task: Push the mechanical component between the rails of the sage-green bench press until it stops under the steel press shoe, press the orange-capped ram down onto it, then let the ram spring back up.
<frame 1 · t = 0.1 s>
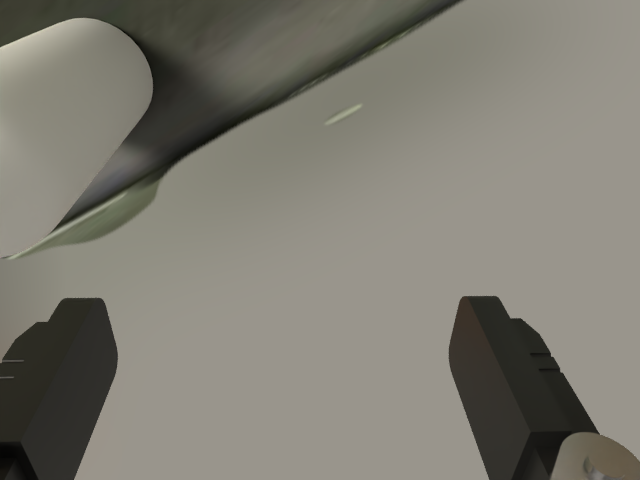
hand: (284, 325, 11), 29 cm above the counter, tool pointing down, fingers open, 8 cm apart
bottle: (98, 75, 36), on the counter
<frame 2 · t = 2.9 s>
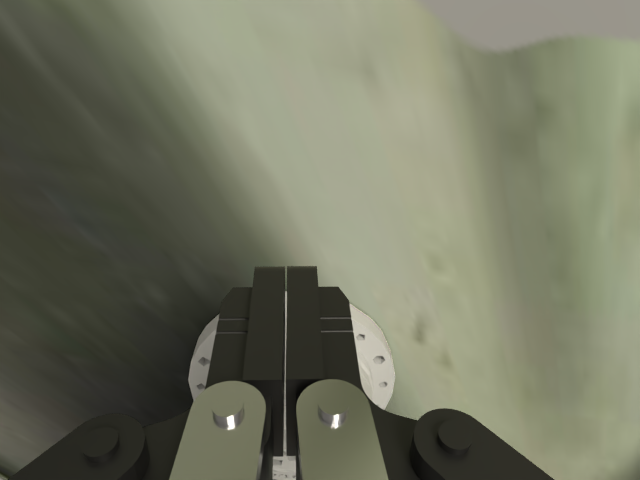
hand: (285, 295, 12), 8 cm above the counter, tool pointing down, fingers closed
mechanical component: (293, 361, 25), on the counter
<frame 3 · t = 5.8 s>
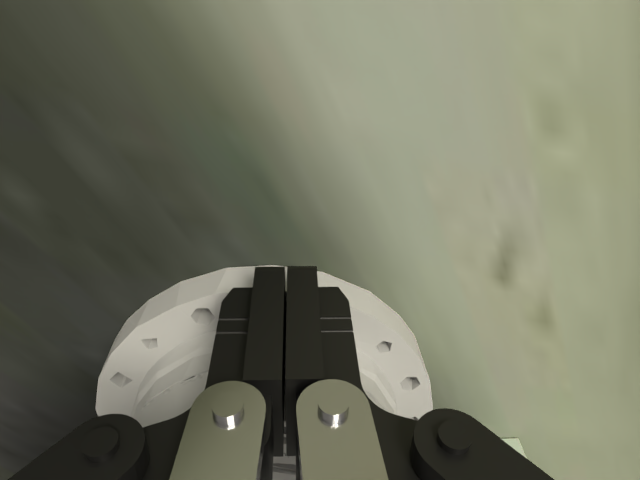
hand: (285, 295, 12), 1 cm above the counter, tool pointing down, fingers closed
mechanical component: (270, 379, 16), on the counter, touching gripper
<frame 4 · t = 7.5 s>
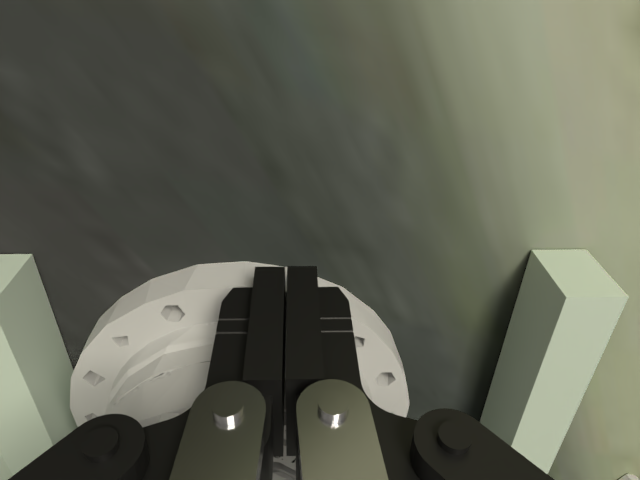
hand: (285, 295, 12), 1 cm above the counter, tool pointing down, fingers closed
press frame: (291, 423, 17), on the counter
mechanical component: (247, 376, 16), on the counter, touching gripper
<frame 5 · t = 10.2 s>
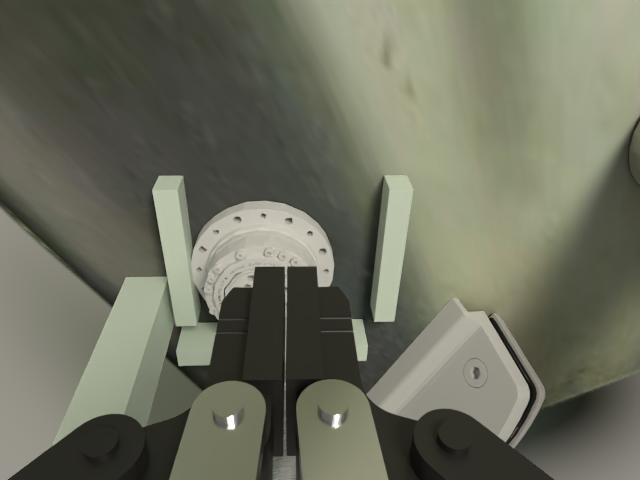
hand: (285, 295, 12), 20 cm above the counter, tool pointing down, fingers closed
grey curved housing: (429, 372, 44), on the counter
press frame: (286, 263, 36), on the counter
mechanical component: (263, 257, 36), on the counter
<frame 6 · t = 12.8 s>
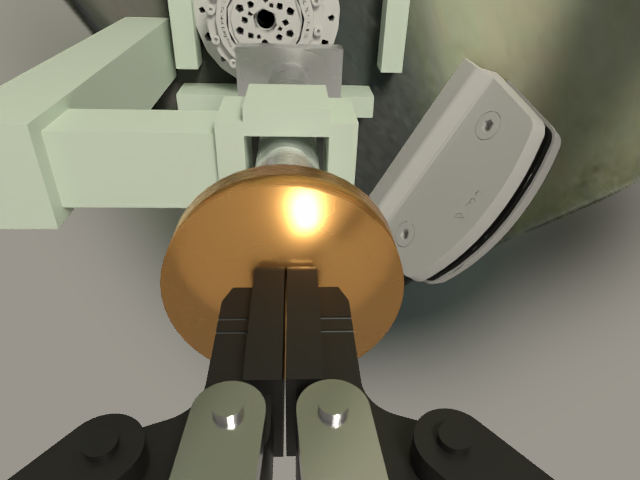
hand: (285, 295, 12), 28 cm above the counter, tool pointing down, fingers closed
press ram: (288, 142, 21), point 18 cm above the counter, slide at 1.0 cm, touching gripper
grey curved housing: (439, 164, 42), on the counter
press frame: (290, 5, 35), on the counter
mechanical component: (268, 10, 35), on the counter
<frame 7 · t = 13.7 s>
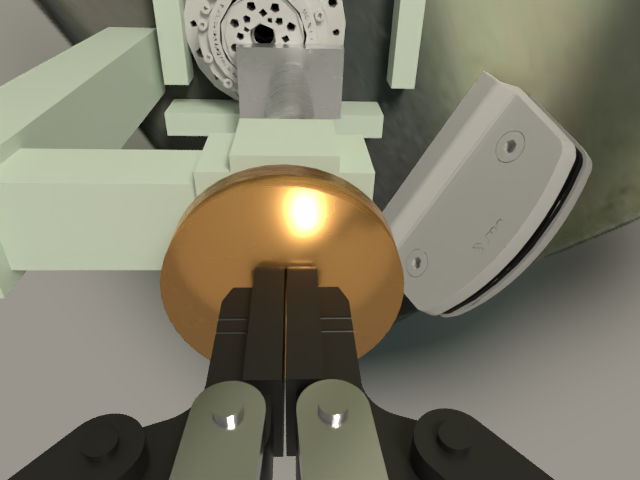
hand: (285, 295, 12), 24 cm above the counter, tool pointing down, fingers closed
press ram: (288, 142, 21), point 14 cm above the counter, slide at 5.0 cm, touching gripper
grey curved housing: (454, 185, 39), on the counter
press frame: (290, 14, 31), on the counter
mechanical component: (266, 24, 32), on the counter
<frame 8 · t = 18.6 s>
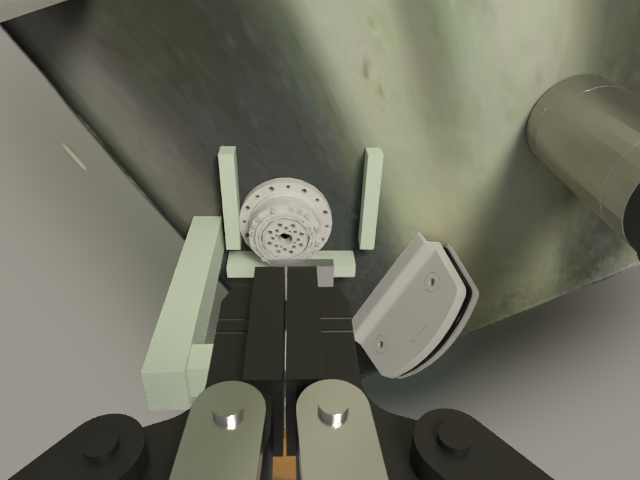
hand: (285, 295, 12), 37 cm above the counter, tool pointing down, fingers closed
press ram: (303, 352, 39), point 18 cm above the counter, slide at 0.9 cm
grey curved housing: (405, 292, 61), on the counter
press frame: (300, 208, 53), on the counter
mechanical component: (285, 216, 54), on the counter
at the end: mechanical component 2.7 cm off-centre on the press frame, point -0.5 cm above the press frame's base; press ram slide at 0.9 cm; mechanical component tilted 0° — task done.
